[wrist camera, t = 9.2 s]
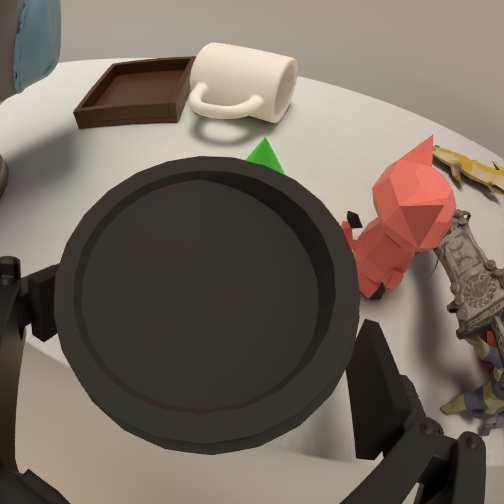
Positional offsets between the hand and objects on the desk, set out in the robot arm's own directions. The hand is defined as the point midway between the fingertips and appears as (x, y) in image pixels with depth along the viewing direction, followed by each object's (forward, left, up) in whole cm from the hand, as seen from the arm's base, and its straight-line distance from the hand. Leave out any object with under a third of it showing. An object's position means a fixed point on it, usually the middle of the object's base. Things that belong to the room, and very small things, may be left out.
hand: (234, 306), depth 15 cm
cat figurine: (+10, +6, -7) cm, 14 cm away
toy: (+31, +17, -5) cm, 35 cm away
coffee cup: (-1, -2, -7) cm, 7 cm away
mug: (-2, +25, -7) cm, 26 cm away
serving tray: (-15, +30, -7) cm, 35 cm away
